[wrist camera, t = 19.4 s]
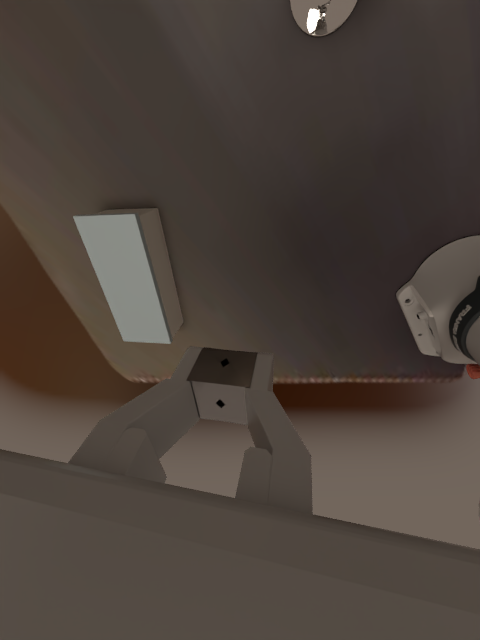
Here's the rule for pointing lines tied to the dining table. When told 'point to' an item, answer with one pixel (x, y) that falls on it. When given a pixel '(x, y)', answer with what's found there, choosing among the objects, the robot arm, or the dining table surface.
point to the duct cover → (125, 274)
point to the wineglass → (321, 15)
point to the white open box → (158, 263)
